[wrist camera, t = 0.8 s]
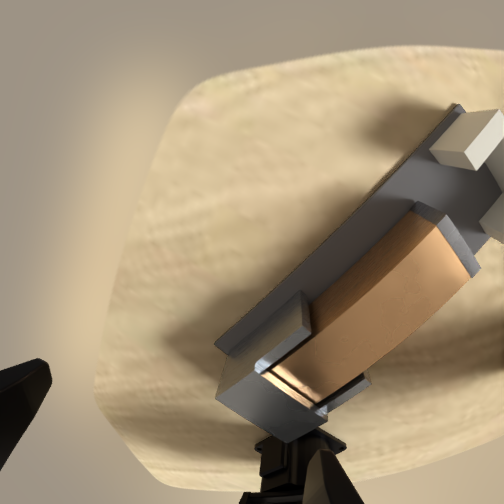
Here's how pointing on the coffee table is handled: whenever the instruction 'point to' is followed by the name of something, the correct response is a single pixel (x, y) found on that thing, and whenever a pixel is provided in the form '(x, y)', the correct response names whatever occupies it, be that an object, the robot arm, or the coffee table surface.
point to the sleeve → (268, 386)
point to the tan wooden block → (378, 303)
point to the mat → (385, 225)
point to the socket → (477, 156)
